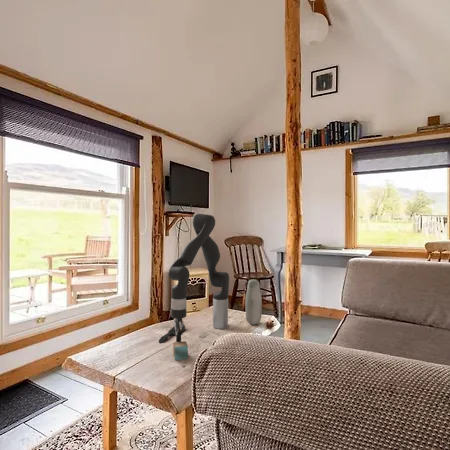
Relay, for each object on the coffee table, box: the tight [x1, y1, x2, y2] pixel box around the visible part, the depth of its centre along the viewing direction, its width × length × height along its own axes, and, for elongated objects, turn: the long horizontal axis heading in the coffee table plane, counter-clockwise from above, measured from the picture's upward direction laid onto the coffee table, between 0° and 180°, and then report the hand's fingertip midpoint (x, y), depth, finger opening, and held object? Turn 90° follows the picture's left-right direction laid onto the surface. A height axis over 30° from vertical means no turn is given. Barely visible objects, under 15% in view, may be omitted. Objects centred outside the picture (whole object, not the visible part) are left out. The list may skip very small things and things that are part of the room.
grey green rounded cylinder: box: [244, 278, 263, 326], centre depth 199 cm, size 10×10×28 cm
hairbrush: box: [158, 323, 186, 344], centre depth 179 cm, size 8×4×25 cm
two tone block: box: [172, 340, 189, 361], centre depth 150 cm, size 6×6×6 cm
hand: (178, 342), depth 155 cm, fingers closed
